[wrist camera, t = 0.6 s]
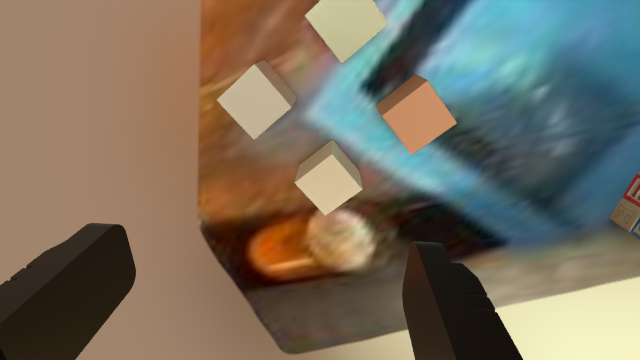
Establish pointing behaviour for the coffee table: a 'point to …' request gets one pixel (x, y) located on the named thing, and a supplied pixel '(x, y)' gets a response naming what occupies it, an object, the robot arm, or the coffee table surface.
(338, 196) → the cream cube
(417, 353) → the robot arm
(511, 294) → the coffee table surface
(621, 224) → the stack of blocks
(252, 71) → the beige cube
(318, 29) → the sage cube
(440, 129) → the terracotta cube
